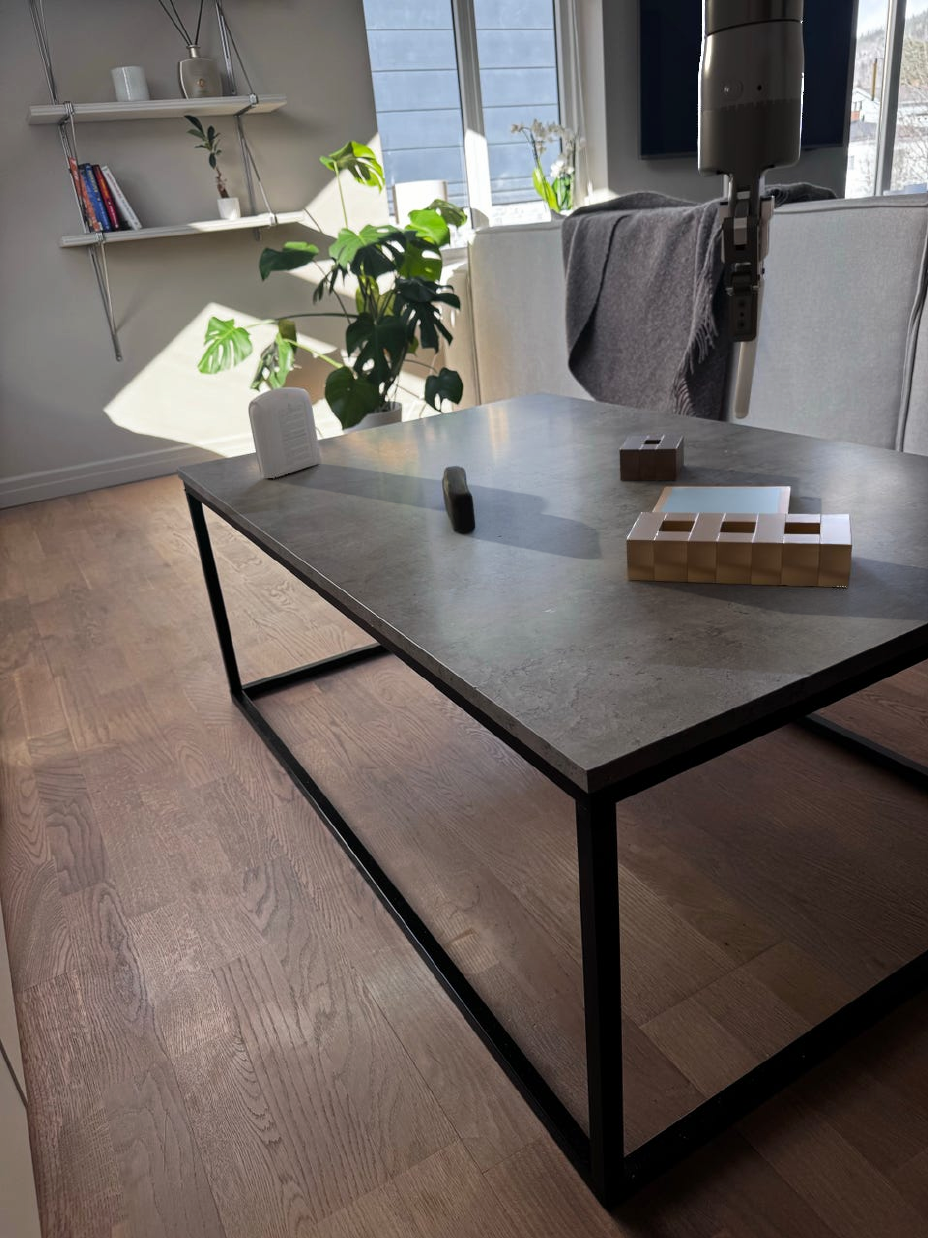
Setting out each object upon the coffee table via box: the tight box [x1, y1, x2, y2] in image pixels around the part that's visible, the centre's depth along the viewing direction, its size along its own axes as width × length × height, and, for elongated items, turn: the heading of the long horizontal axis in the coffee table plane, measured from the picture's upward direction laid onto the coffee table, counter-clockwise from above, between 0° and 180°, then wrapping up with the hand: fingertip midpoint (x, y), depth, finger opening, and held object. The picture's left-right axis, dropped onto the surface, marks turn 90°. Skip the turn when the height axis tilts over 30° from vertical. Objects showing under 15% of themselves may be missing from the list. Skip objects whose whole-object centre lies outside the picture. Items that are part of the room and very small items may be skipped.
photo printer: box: [247, 386, 322, 479], centre depth 132 cm, size 10×4×12 cm, turn 140°
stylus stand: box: [618, 434, 685, 481], centre depth 113 cm, size 7×7×4 cm
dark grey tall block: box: [441, 465, 476, 533], centre depth 105 cm, size 5×3×15 cm
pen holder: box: [625, 511, 853, 588], centre depth 82 cm, size 19×8×4 cm, turn 70°
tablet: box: [652, 486, 792, 514], centre depth 95 cm, size 14×18×1 cm
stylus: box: [732, 276, 766, 420], centre depth 74 cm, size 1×1×12 cm
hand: (743, 338), depth 74 cm, fingers closed on stylus, 1 cm apart
